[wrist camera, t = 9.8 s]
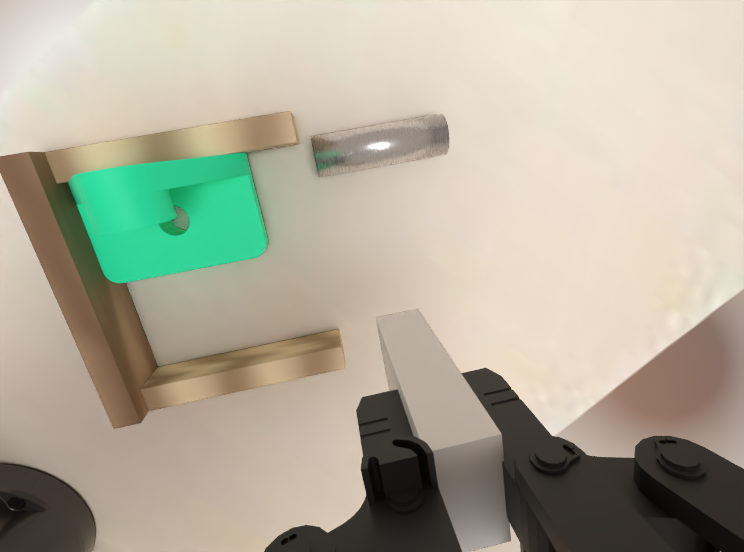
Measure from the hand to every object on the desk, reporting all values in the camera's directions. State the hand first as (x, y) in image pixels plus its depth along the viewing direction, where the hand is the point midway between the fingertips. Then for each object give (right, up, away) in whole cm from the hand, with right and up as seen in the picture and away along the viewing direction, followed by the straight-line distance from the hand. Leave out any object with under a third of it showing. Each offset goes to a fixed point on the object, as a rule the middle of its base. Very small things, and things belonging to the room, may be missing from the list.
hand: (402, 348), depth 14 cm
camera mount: (-16, +7, +17) cm, 25 cm away
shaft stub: (0, +12, +15) cm, 19 cm away
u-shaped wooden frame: (-14, +4, +18) cm, 23 cm away
